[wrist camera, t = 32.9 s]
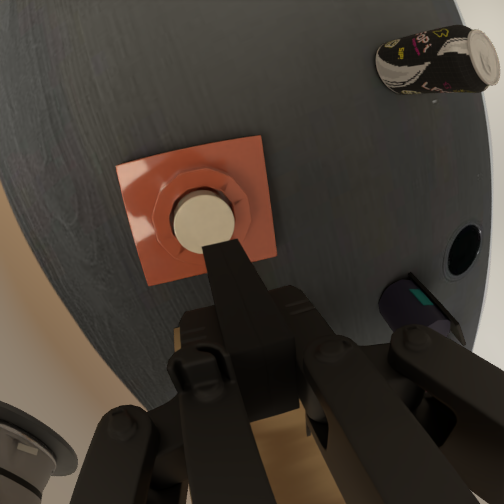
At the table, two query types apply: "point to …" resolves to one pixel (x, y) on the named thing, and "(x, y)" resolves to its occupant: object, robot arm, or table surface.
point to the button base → (184, 182)
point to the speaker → (416, 308)
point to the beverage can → (439, 62)
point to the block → (291, 458)
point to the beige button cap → (202, 220)
